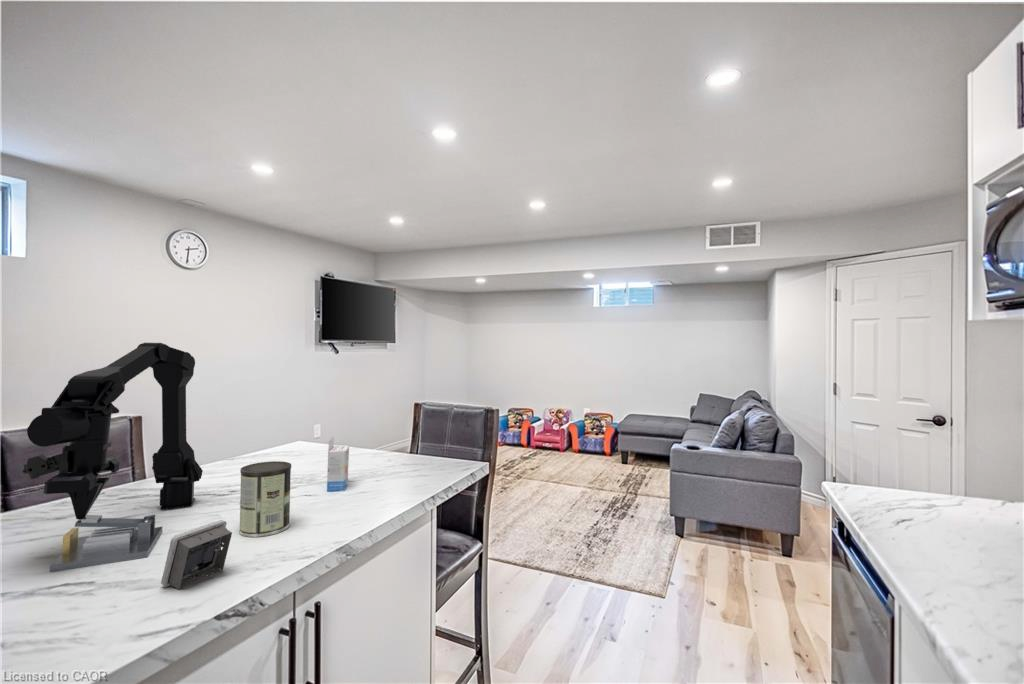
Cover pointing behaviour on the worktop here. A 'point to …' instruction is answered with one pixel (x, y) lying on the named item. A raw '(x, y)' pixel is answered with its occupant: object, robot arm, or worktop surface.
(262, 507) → the coffee can
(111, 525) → the grey long bar
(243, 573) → the worktop surface
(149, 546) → the toggle clamp fixture
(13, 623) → the worktop surface
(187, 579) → the electrical switch
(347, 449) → the ink box
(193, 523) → the worktop surface
